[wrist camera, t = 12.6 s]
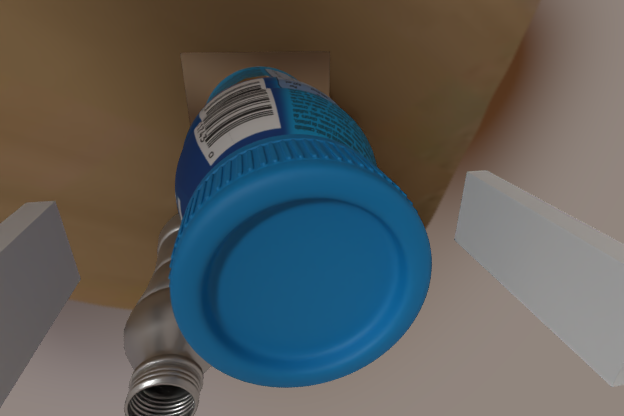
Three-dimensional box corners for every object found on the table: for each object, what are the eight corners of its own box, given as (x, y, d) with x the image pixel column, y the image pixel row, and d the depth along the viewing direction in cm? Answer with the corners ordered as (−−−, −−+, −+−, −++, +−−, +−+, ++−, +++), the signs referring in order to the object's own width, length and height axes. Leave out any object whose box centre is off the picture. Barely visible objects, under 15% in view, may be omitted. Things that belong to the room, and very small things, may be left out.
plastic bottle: (148, 222, 36) (59, 403, 18) (209, 188, 36) (179, 339, 18) (188, 269, 39) (145, 466, 21) (244, 238, 39) (249, 411, 21)
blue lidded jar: (331, 80, 27) (527, 164, 9) (304, 188, 30) (405, 417, 12) (210, 49, 24) (135, 75, 6) (194, 169, 27) (112, 416, 9)
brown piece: (192, 50, 31) (180, 53, 24) (311, 49, 32) (329, 51, 26) (207, 166, 35) (200, 195, 28) (312, 160, 36) (328, 186, 30)
